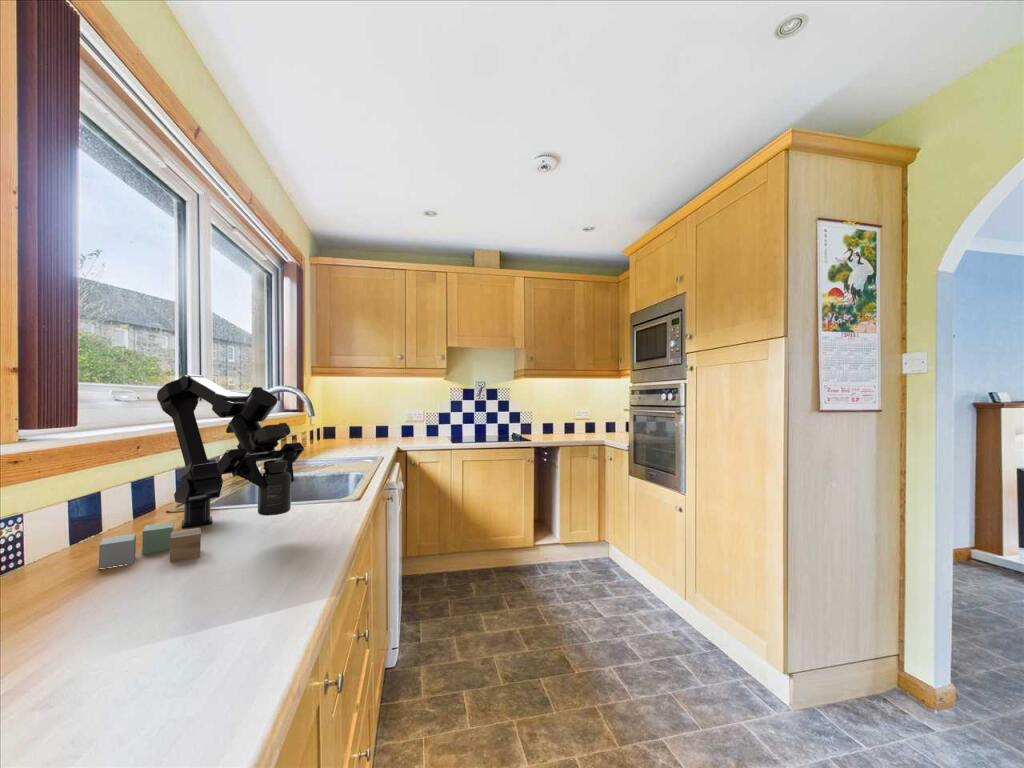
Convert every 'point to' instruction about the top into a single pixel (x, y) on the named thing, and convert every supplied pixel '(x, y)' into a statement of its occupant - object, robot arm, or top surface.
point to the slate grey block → (117, 550)
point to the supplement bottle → (275, 489)
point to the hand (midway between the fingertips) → (279, 484)
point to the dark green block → (157, 537)
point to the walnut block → (185, 544)
